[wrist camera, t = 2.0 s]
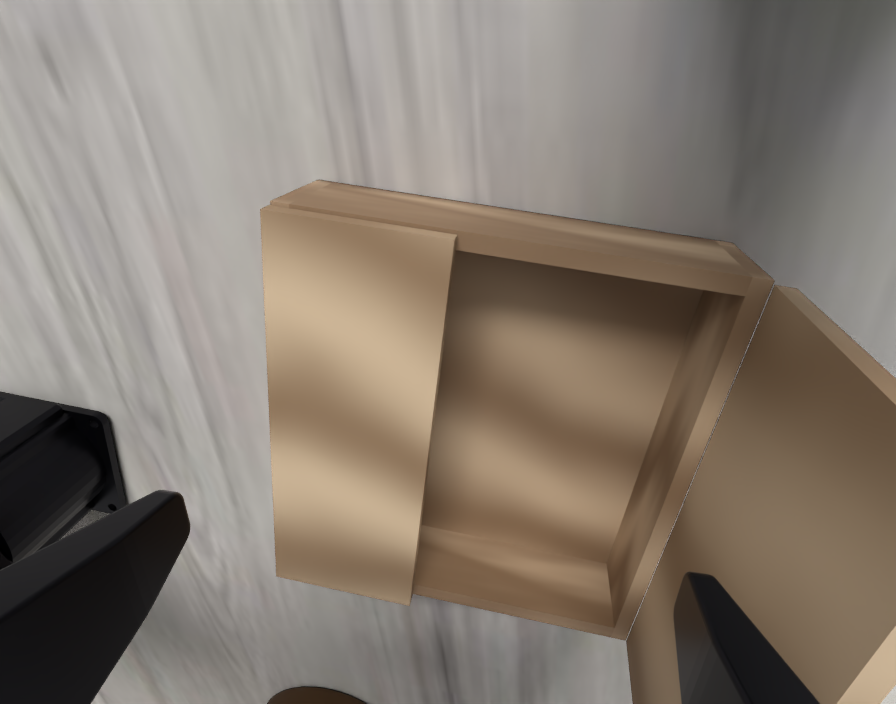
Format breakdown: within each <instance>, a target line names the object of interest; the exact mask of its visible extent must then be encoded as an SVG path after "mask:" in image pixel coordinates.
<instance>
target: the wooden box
mask: <svg viewBox="0 0 896 704" xmlns="http://www.w3.org/2000/svg"><path fill="white" fill-rule="evenodd" d="M270 205H273V206H279V207H285V208H292V209H298V210H304V211H311V212H317V213H323V214H330V215H336V216H342V217H349V218H355V219H361V220H367V221H374V222H380V223H386V224H393V225H399V226H405V227H412V228H418V229H424V230H431V231H437V232H443V233H450V234H456V235H457V242H456V250H455V258H454V266H453V274H452V282H451V290H450V298H449V306H448V314H447V322H446V330H445V338H444V346H443V354H442V362H441V370H440V378H439V387H438V395H437V403H436V411H435V419H434V427H433V435H432V443H431V451H430V459H429V467H428V475H427V483H426V491H425V499H424V507H423V515H422V523H421V531H420V539H419V547H418V555H417V563H416V571H415V579H414V587H413V594H416V595H421V596H426V597H430V598H435V599H439V600H444V601H448V602H453V603H457V604H462V605H466V606H471V607H475V608H480V609H485V610H489V611H494V612H498V613H503V614H507V615H512V616H516V617H521V618H525V619H530V620H534V621H539V622H544V623H548V624H553V625H557V626H562V627H566V628H571V629H575V630H580V631H584V632H589V633H594V634H598V635H603V636H607V637H612V638H616V639H621V640H626V638H627V636H628V633H629V631H630V628H631V626H632V623H633V621H634V619H635V616H636V614H637V611H638V609H639V607H640V604H641V602H642V599H643V597H644V595H645V592H646V590H647V587H648V585H649V582H650V580H651V578H652V575H653V573H654V570H655V568H656V566H657V563H658V561H659V558H660V556H661V554H662V551H663V549H664V546H665V544H666V541H667V539H668V537H669V534H670V532H671V529H672V527H673V525H674V522H675V520H676V517H677V515H678V513H679V510H680V508H681V505H682V503H683V500H684V498H685V496H686V493H687V491H688V488H689V486H690V484H691V481H692V479H693V476H694V474H695V472H696V469H697V467H698V464H699V462H700V459H701V457H702V455H703V452H704V450H705V447H706V445H707V443H708V440H709V438H710V435H711V433H712V431H713V428H714V426H715V423H716V421H717V418H718V416H719V414H720V411H721V409H722V406H723V404H724V402H725V399H726V397H727V394H728V392H729V390H730V387H731V385H732V382H733V380H734V377H735V375H736V373H737V370H738V368H739V365H740V363H741V361H742V358H743V356H744V353H745V351H746V349H747V346H748V344H749V341H750V339H751V336H752V334H753V332H754V329H755V327H756V324H757V322H758V320H759V317H760V315H761V312H762V310H763V308H764V305H765V303H766V300H767V298H768V295H769V293H770V291H771V288H772V286H773V283H774V281H775V280H774V279H773V278H771V277H770V276H769V275H768V274H767V273H766V272H765V271H764V270H762V269H761V268H760V267H759V266H758V265H757V264H756V263H755V262H753V261H752V260H751V259H750V258H749V257H748V256H747V255H746V254H744V253H743V252H742V251H741V250H740V249H739V248H738V247H737V246H735V245H734V244H733V243H730V242H724V241H717V240H711V239H704V238H698V237H691V236H684V235H678V234H671V233H665V232H658V231H652V230H645V229H638V228H632V227H625V226H619V225H612V224H606V223H599V222H593V221H586V220H579V219H573V218H566V217H560V216H553V215H547V214H540V213H534V212H527V211H520V210H514V209H507V208H501V207H494V206H488V205H481V204H475V203H468V202H461V201H455V200H448V199H442V198H435V197H429V196H422V195H416V194H409V193H402V192H396V191H389V190H383V189H376V188H370V187H363V186H357V185H350V184H343V183H337V182H330V181H324V180H316V181H314V182H312V183H310V184H307V185H305V186H303V187H301V188H298V189H296V190H294V191H292V192H289V193H287V194H285V195H283V196H280V197H278V198H276V199H274V200H271V201H270Z"/></svg>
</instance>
